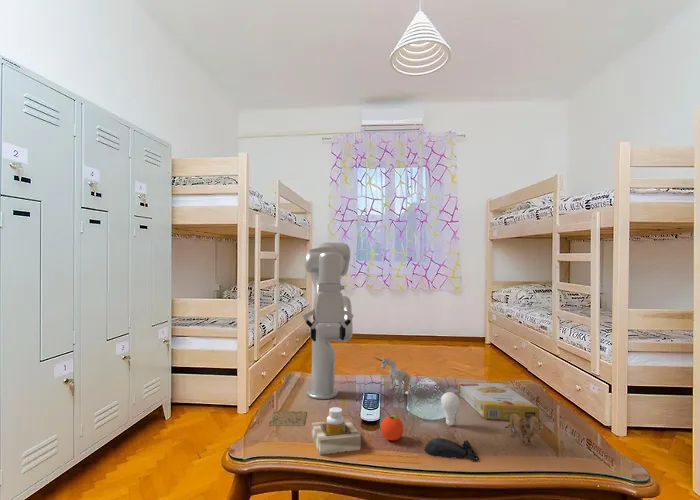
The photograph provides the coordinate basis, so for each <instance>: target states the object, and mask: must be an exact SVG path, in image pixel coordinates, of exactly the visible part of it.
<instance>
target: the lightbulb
mask: <svg viewBox="0 0 700 500" xmlns="http://www.w3.org/2000/svg"><path fill="white" fill-rule="evenodd" d="M440 404H441V406H442V409H443V411H444V416H445V423H446V425H447V426H450V427H452V426H453V425H454V423H455V418H456V413H457V411H458V409H459V406H460V404H461V403H460V399H459V396H458V395H457V394H456V393H454V392H450V391H448V392H445V393H444V394H442V396H441V397H440Z"/></svg>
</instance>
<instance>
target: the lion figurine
mask: <svg viewBox="0 0 700 500" xmlns="http://www.w3.org/2000/svg"><path fill="white" fill-rule="evenodd" d="M543 427H544V425H543V424H542V423H540V421H539V420H538V419H537V418H536V417H532V416H531V417H526V418H522V419H521V418H520V416H519V415H518V414H515V413H513V414H512V415H511V416H510V420H509V424H508V425H507V426H505V427H504V428H505V429H506V430H507V429H509V437H514V434H513V433H517V430H518V432H520V438H521V445H522V446H524V447H525V446H526V445H527V444H529V445H532V444H533V442H532V441H531V438H532V437H534V436H535V435H537V434H538V433H540V432H541V431H542V429H543ZM516 429H517V430H516ZM525 437H526V438H525ZM525 440H526V441H525ZM526 442H527V443H526Z"/></svg>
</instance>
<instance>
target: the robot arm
mask: <svg viewBox="0 0 700 500" xmlns="http://www.w3.org/2000/svg"><path fill="white" fill-rule="evenodd" d="M350 261H351V249H350V246H349V245H348V244H347V243H344V242H323V243H320V244H319V245H318V246H317V247H316V248H311V249H308V250H307V251H306V254H305V257H304V267H305V270H306V272H308V273H309V274H310V275H309V276H310V280H311V282H312V284H313V286H314V299H313V306H312V310H310V311H309V312H306V313H305V314H303V315H302V318H303V321H304V322H305V324H306V325H307V326H308V327H309V328H310V336H309V337H310V339H311V382H310V383H311V385H310V386H311V387H310V388H309V389H308V390H307V391H306V392H307V393H306V395H307V396H308V397H309V398H311V399H315V400H328V399H329V400H330V399H333V398H335V397H337V396H338V390H337V389H336V388H335V370H336V369H335V368H336V367H335V365H336V364H335V362H336V351H335V349H334V347H333V345H332V344H331V342H333V341H334V342H335V341H340V342H343V341H344V342H346V341H349V340H350V341H351V339H352V337H353V333H354V332H353V318H354V314H353V312H352V301H351V299H350V297H348V296H347V295H343V292H342V290H345V285H342V283H341V279H342V278H341V277H345V276H346V275H347V273H348V271H349V266H350ZM311 316H312V321H310V319H309V317H311Z"/></svg>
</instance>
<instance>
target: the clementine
mask: <svg viewBox="0 0 700 500" xmlns="http://www.w3.org/2000/svg"><path fill="white" fill-rule="evenodd" d="M380 429H381V433H382V435H383V437H384V438H385V439H386V440H389V441H398V440H399V439H400V438H401V437H402V436H403V434H404V424H403V422H402V420H401V419H400V418H399V417H398V415H396V414H392V415H389V416H386V417H385V418H384V419H383V420H382V421H381V424H380Z"/></svg>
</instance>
